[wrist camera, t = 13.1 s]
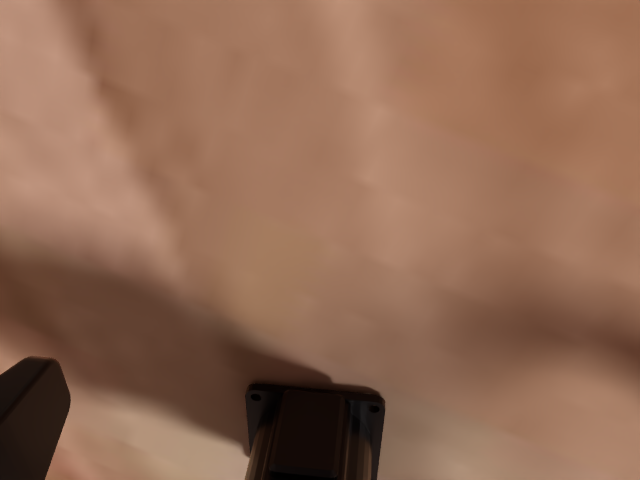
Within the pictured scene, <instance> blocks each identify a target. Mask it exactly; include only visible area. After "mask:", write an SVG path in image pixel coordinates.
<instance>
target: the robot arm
mask: <svg viewBox="0 0 640 480" xmlns="http://www.w3.org/2000/svg"><path fill="white" fill-rule="evenodd" d="M245 397H246V409H247V421H248V433H249V444H250V460H249V464H248V468H247V472H246V476H245V480H377V473H378V465H379V456H380V448H381V440H382V432H383V424H384V415H385V400H384V399H383V398H382V397H380V396H377V395H369V394H359V393H349V392H339V391H328V390H318V389H308V388H298V387H288V386H277V385H267V384H251V385H249V386H248V388H247V392H246V396H245ZM70 401H71V399H70V392H69V389H68V387H67V384H66V381H65V378H64V375H63V372H62V369H61V366H60V364H59V362H58V361H57V360H56V359H54V358H47V357H37V356H30V357H27V358H25V359H23V360H21V361H20V362H18V363H17V364H15V365H14V366H12V367H11V368H9V369H8V370H7V371H5V372H4V373H2V374H1V375H0V480H45V477H46V475H47V472H48V469H49V466H50V463H51V460H52V457H53V455H54V452H55V449H56V446H57V443H58V440H59V438H60V435H61V432H62V429H63V426H64V423H65V420H66V418H67V415H68V412H69V408H70ZM374 405H375V406H374Z"/></svg>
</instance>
